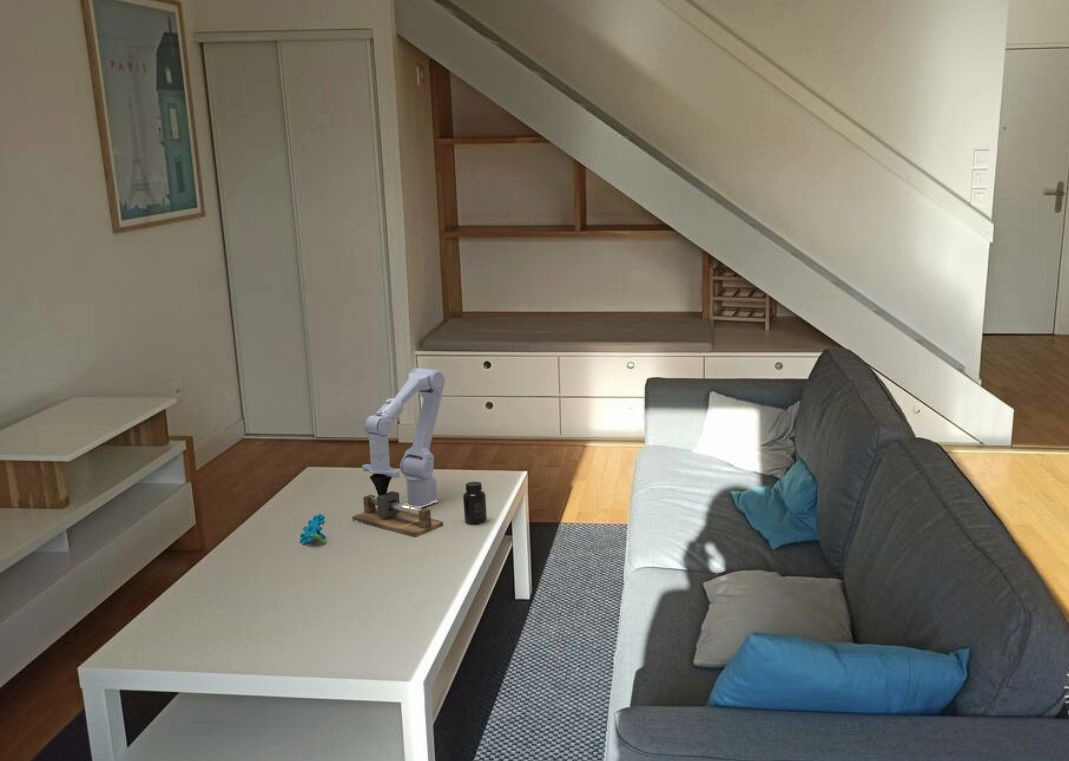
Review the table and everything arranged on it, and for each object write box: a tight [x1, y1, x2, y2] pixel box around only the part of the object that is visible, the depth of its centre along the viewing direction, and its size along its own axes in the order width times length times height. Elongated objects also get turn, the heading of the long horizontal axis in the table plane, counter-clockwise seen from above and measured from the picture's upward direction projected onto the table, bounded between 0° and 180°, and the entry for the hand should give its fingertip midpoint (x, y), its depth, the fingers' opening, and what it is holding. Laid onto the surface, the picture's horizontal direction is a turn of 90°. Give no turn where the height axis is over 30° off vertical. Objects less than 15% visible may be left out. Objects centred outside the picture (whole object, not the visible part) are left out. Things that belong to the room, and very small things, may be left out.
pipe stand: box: [351, 494, 444, 538], centre depth 305 cm, size 12×27×6 cm, turn 52°
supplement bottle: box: [462, 481, 488, 526], centre depth 303 cm, size 7×7×12 cm
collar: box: [376, 490, 401, 518], centre depth 307 cm, size 6×3×6 cm, turn 142°
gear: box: [299, 512, 328, 545], centre depth 293 cm, size 11×6×10 cm
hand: (382, 496), depth 308 cm, fingers closed
